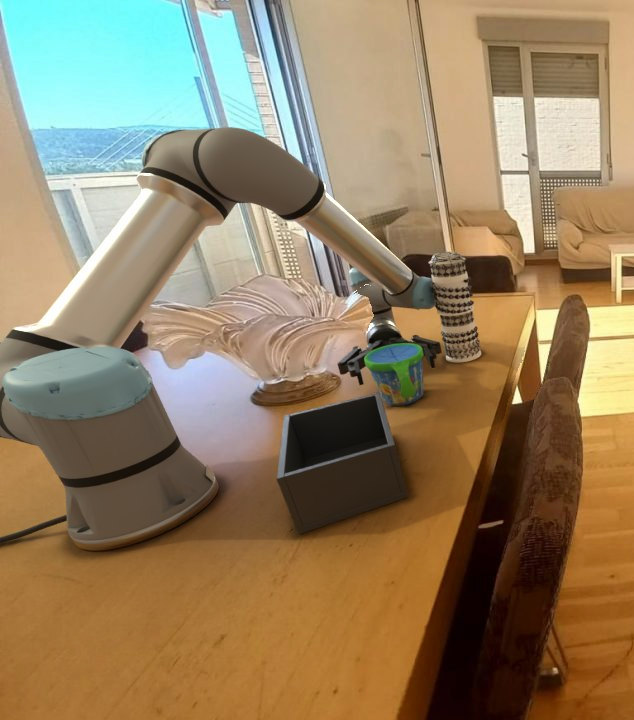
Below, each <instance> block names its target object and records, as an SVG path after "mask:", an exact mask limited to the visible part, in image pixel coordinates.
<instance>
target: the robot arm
mask: <svg viewBox="0 0 634 720" xmlns="http://www.w3.org/2000/svg"><path fill="white" fill-rule="evenodd" d="M140 159H141V160H140V161H141V162H140V163H141V165H142V166H143V168H142V169H141V171H140V172H139V173H138V175H137V176H136V179H135V180H136V183H137V185H138V187H139V190H140V191H141V192H140V194H139V196H137V198H135V200H134V202H133V203H132V204H131V205H130V206H129V208H128V209H127V211H125V213H124V214H123V216H121V218H119V220H118V221H117V223H116V224H115V226H113V228H112V229H111V230H110V231H109V233H108V234H107V235H106V237H105V238H103V241H102V242H101V243H100V244H99V245H98V247H97V248H96V249H95V250H94V252H93V253H92V254H91V255H90V257H89V258H87V259H88V260H86V262H85V263H84V264H83V266H82V267H81V268H80V269H79V270H78V272H77V273H76V274H75V276H73V278H72V279H71V280H70V282H69V283H68V284H67V285H66V287H65V288H64V289H63V290H62V292H61V293H60V294H59V295H58V296H57V298H56V299H55V300H54V301H53V303H52V304H51V305H50V306H49V308H48V310H46V312H45V313H44V314H43V316H42V317H41V318H40V319H39V321H36V322H34V323H30V324H25V325H20V326H14V327H12V329H11V330H10V331H9V332H8V334H7V335H6V336H5V337H4V338H3V339H2V341H1V342H0V438H2V439H6V440H12V441H16V442H20V443H25V444H28V445H31V446H36V447H37V448H39V449H40V450H41V452H42V453H43V455H44V457H45V458H46V459H47V461H48V463H49V465H50V466H51V468H52V470H53V471H54V473H55V474H56V476H57V477H58V479H59V480H60V483H62V485H63V487H64V490H65V509H66V514H64V515H61V516H59V517H56V518H52V519H49V520H47V521H44V522H41V523H38V524H36V525H33V526H31V527H27V528H26V529H23V530H20V531H16V532H14V533H10V534H6V535H3V536H0V544H3V543H7V542H10V541H14V540H17V539H20V538H23V537H26V536H29V535H31V534H34V533H36V532H39V531H41V530H45V529H47V528H50V527H52V526H56V525H59V524H62V523H65V522H66V529H67V533H68V536H69V537H70V538H71V540H72V542H73V544H74V545H75V546H76V547H78V548H79V549H82V550H85V551H107V550H114V549H118V548H123V547H128V546H131V545H134V544H137V543H141V542H144V541H146V540H149V539H151V538H155V537H156V536H159V535H162V534H164V533H165V532H168V531H170V530H173V529H174V528H176V527H178V526H180V525H182V524H183V523H185V522H187V521H188V520H189V519H191V518H193V517H195V516H196V515H197V514H198V513H200V512H201V511H203V510H204V509H205V508H206V507H207V506H208V505H209V504H210V503H211V502H212V501H213V500H214V499H215V497H216V496H217V494H218V492H219V483H218V480H217V478H216V476H215V471H214V470H213V469H212V468H211V467H210V466H208V465H205V464H204V462H202V461H201V460H199V459H198V458H197V457H196V456H195V455H193V454H192V453H191V452H190V451H189V450H188V449H187V448H185V447H184V446H183V444H182V443H181V441H180V440H181V439H180V438H179V436H178V434H177V432H176V430H175V428H174V425H173V424H172V421H171V419H170V417H169V415H168V413H167V410H166V408H165V406H164V403H163V402H162V399H161V397H160V395H159V394H158V391H157V388H156V387H155V384H154V383H153V377H152V375H151V374H150V372H149V370H148V369H147V368H146V367H145V366H144V364H143V363H142V361H141V360H140V358H139V357H138V356H137V355H136V354H135V353H133V352H131V351H129V350H126V349H124V348H122V346H123V345H124V344H125V342H126V341H127V339H128V338H129V336H130V335H131V333H132V332H133V331H134V329H135V328H136V326H137V325H138V324H139V322H140V321H141V320H142V318H143V317H144V315H145V314H146V312H147V311H148V309H149V308H150V307H151V305H152V304H153V302H155V299H156V298H157V297H158V296H159V294H160V292H161V291H162V290H163V288H164V287H165V286H166V284H167V283H168V282H169V280H170V278H171V277H172V276H173V274H174V273H175V271H176V270H177V268H178V267H179V265H181V262H183V260H184V259H185V257H186V255H188V253H189V251H190V250H191V249H192V248H193V246H194V244H195V243H196V242H197V240H198V239H199V238H200V236H201V234H202V233H203V231H204V230H205V229H206V228H207V227H215V226H220V225H222V224H223V223H224V222H225V220H226V219H227V217H228V216H229V214H230V213H231V212H232V210H233V209H234V207H236V205H237V204H254V205H256V206H259V207H262V208H265V209H267V210H268V211H271V212H272V213H274V214H276V215H277V216H278V217H279V218H281V219H282V220H284V221H286V222H295V223H297V224H298V225H299V226H300V227H301V228H303V229H304V230H306V231H307V232H308V233H309V234H311V235H312V236H313V237H315V238H316V239H317V240H319V241H320V242H321V243H322V244H324V245H325V247H327V248H329V249H330V250H331V251H332V252H334V253H335V254H336V255H338V256H339V257H340V258H341V259H343V260H344V261H345V262H347V263H348V264H349V265H350V266H352V268H350V269H349V271H348V275H349V280H350V288H351V289H352V293H353V292H354V291H356V290H357V291H356V292H355V293H357V292H358V294H360V295H364V296H366V297H368V298H369V301H370V304H371V306H372V312H373V314H374V317H373V319H372V320H371V322H370V325H369V328H368V331H366V332H364V333H363V335H364V338H365V341H366V347H365V348H364V347H363V348H362V347H359V346H358V345H355V346H353V347H352V349H351V350H350V351H349V352H348V353H347V354H346V355H345V356H344V357H342V358H341V359H340V360H339V361H338V362H337V368H338V371H339V374H340V375H341V376H342V375H343V376H344V375H346V374H348V373H349V375H350V377H351V378H357V382H358V385H359V386H362V385H365V383H364V380H363V376H362V371H361V370H363V369H364V368H367V366H366V365H365V361H364V358H365V356H366V355H367V354H368V353H369V352H371V351H373V350H375V349H377V348H380V347H383V346H388V345H392V344H400V343H411V344H417V345H419V346H421V347H422V349H423V357H425V360H426V362H427V363H428V365H429V366H430V368H431V369H436V363H435V360H437V359H438V356H437V355H440V354H442V353H443V352H442V351H443V350H442V347H441V342H440V341H437V340H433V339H429V338H426V337H422V336H419V335H418V334H413V335H412V337H411V338H410V339H406V338H404V337H403V335H402V334H401V331H400V330H399V328H398V326H397V324H396V320H395V316H394V312H393V308H401V309H402V308H403V309H411V310H416V311H420V310H431V309H433V308H435V305H436V303H435V302H434V296H436V295H433V293H432V292H431V291H432V287H431V286H430V282H431V281H432V277H426V276H424V275H423V276H419V275H417V274H416V273H415V272H414V271H413V270H412V269H410V268H409V267H408V266H407V265H406V264H405V263H404V262H403V261H402V260H401V259H399V258H398V257H397V256H396V254H394V253H393V252H392V251H391V250H390V249H389V248H387V246H385V244H383V243H382V242H381V241H380V240H379V239H378V238H376V236H374V234H372V233H371V232H370V231H369V230H368V229H367V228H366V227H365V226H364V225H362V224H361V223H360V222H359V221H358V220H357V219H356V218H355V217H354V216H352V214H350V213H349V211H347V210H346V209H345V208H344V207H343V206H342V205H341V204H339V202H337V201H336V199H334V198H333V197H332V196H331V195H330V194H329V193H327V187H326V184H325V182H324V181H322V179H321V178H319V177H318V176H317V175H316V174H315V172H313V171H312V170H311V169H310V168H309V167H307V165H305V164H304V163H303V162H302V161H300V159H298V158H296V157H295V156H294V155H292V154H291V153H290V152H289V151H287V150H286V149H284V148H283V147H281V146H280V145H278V144H277V143H275V142H273V141H271V140H270V139H268V138H266V137H264V136H262V135H260V134H258V133H256V132H254V131H251V130H247V129H245V128H239V127H233V126H225V127H216V128H197V129H191V128H190V129H187V128H186V129H183V128H182V129H175V130H174V129H173V130H170V131H165V132H164V133H161V134H158V135H155V137H153V138H152V139H150V140H149V141H148V142H147V143H146V144H145V146H144V148H143V150H142V153H141V158H140ZM365 284H369V285H365ZM364 285H365V286H364ZM370 285H371V286H370ZM360 287H361V288H360ZM435 291H436V290H435ZM355 293H354V294H355ZM354 294H353V295H354Z"/></svg>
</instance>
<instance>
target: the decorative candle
mask: <svg viewBox="0 0 634 720" xmlns="http://www.w3.org/2000/svg"><path fill="white" fill-rule="evenodd" d="M466 260H467V259H466V258H465V257H463V256H462V255H461V253H459V252H458V251H457V252H456V251H442V252H437V253H435V254H433V255H432V257H431V259H430V260H429V261H428V264H429V266H430V271H431V279H432V281H431V282H430V286H431V287H432V291H431V292H432V293H433V295H436V296H434V302H435V303H436V305H435V306H434V308H435V309H436V311H437V312H436V313H437V315H439V318H440V328H441V331H440V335H441V336H442V338H441V340H442V342H443V344H442V348H443V349H444V354H445V359H446V361H448V362H449V363H454V364H455V363H456V364H457V363H466V362H467V363H468V362H471V361H474V360H477V359H478V358H480V357H481V355H482V351H481V345H480V343H481V340H480V339H479V332H477V331H478V326H477V324H476V320H475V318H474V310H475V306H474V304H475V301H474V300H472V299H471V298H472V297H473V296H474V293H473V292H471V291H472V290H473V286H472V285H469V283H470V282H471V281H472V278H471V277H470V276H469V275H468V271H467V270H466V263H465V261H466ZM435 290H436V291H435Z"/></svg>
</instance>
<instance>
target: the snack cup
mask: <svg viewBox="0 0 634 720" xmlns="http://www.w3.org/2000/svg"><path fill="white" fill-rule="evenodd" d="M423 358H424V356H423V349H422V347H421V346H419V345H417V344H411V343H400V344H392V345H388V346H383V347H380V348H377V349H375V350H373V351H371V352H369V353H368V354H367V355H366V356H365V358H364V361H365V365H366V368H367V369H368V370H369V371H370V373H371V376H372V378H373V381H374V383H375V385H376V388H377V390H378V393H380V395H381V398H382V401H383V402H384V403H386V404H387V405H388V406H390V407H392V406H399V407H400V406H406V405H410V404H412V403H414V402H416V401H418V400H420V399H421V398H422V397H423V396H424V368H423V367H424V365H423Z"/></svg>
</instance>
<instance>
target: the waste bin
mask: <svg viewBox="0 0 634 720" xmlns="http://www.w3.org/2000/svg"><path fill="white" fill-rule="evenodd" d="M393 437H394V436H393V433H392V430H391V426H390V423H389V419H388V416H387V412H386V409H385V406H384V401H383V398H382V396H381V394H380V392H376V393H373V394H368V395H364V396H360V397H355V398H351V399H347V400H343V401H338V402H334V403H330V404H327V405H323V406H317V407H314V408H310V409H306V410H302V411H297V412H293V413H290V414H289V413H288V414H285V415H283V422H282V430H281V438H280V446H279V456H278V464H277V473H276V482H277V484H278V487H279V489H280V492H281V494H282V496H283V499H284V502H285V504H286V507H287V509H288V511H289V514H290V518H291V519H292V522H293V524H294V527H295V529H296V532H297V534H298V535H303V534H305V533H307V532H310V531H313V530H317V529H319V528H322V527H325V526H328V525H331V524H334V523H337V522H339V521H340V522H341V521H343V520H346V519H349V518H352V517H355V516H358V515H360V514H363V513H366V512H369V511H372V510H375V509H377V508H380V507H384V506H386V505H389V504H392V503H395V502H399V501H401V500H404V499H407V498H409V493H408V489H407V485H406V481H405V478H404V474H403V470H402V467H401V462H400V458H399V455H398V451H397V448H396V444H395V443H396V442H395V440H394V438H393Z"/></svg>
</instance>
